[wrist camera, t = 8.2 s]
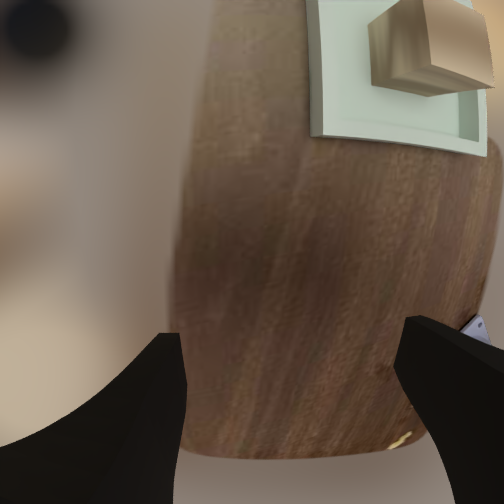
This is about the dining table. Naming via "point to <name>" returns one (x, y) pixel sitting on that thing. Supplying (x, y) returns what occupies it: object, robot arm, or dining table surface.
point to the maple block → (430, 48)
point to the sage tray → (379, 89)
